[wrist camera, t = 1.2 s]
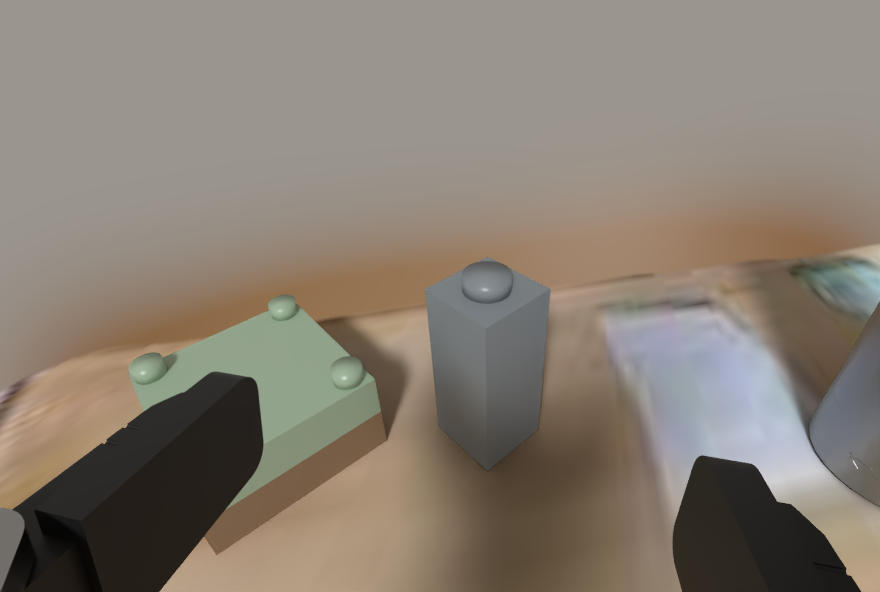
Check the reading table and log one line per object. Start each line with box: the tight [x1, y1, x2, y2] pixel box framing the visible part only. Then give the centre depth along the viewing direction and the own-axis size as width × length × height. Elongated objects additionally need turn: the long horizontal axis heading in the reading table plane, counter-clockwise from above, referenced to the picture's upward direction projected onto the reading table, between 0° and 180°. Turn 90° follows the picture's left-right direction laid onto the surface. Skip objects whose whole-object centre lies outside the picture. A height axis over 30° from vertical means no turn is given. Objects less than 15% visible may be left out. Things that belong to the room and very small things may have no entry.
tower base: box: [128, 295, 387, 555], centre depth 33 cm, size 12×12×7 cm
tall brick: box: [425, 257, 550, 471], centre depth 30 cm, size 5×5×13 cm
